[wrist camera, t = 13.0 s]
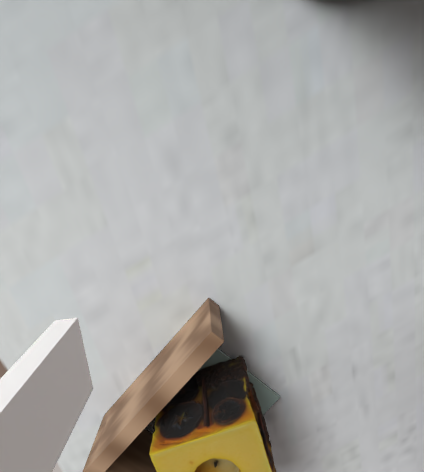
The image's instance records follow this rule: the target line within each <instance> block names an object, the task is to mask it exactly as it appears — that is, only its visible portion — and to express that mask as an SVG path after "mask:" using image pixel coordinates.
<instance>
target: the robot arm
mask: <svg viewBox="0 0 424 472" xmlns="http://www.w3.org/2000/svg"><path fill="white" fill-rule="evenodd" d="M92 390H93V385H92V381H91V376H90V372H89V367H88V363H87V358H86V354H85V349H84V345H83V340H82V335H81V331H80V326H79V322H78V318H71V319H62V320H55V321H54V322H53V323H52V324H51V325H50V326H49V328H48V329H47V330H46V331H45V332H44V333H43V334H42V335H41V336H40V337H39V338H38V339H37V340H36V341H35V342H34V344H33V345H32V346H31V347H30V348H29V349H28V350H27V351H26V352H25V353H24V354H23V355H22V356H21V357H20V358H19V360H18V361H17V362H16V363H15V364H14V365H13V366H12V367H11V368H10V369H9V370H8V371H7V372H6V373H5V375H4V376H3V377H2V378H1V379H0V472H52V471H53V469H54V467H55V465H56V463H57V461H58V459H59V457H60V455H61V453H62V451H63V449H64V447H65V445H66V443H67V441H68V439H69V437H70V435H71V433H72V431H73V428H74V426H75V424H76V422H77V420H78V418H79V416H80V414H81V412H82V410H83V408H84V406H85V404H86V402H87V400H88V398H89V396H90V394H91V392H92Z"/></svg>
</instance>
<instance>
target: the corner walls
mask: <svg viewBox="0 0 424 472" xmlns="http://www.w3.org/2000/svg"><path fill="white" fill-rule="evenodd" d="M223 342H224V336H223V329H222V323H221V316H220V310H219V305H217V304H216V303H215V302H213V301H212V300H211V299H210V298H208V299H207V300H206V301H205V302H204V304H203V305H202V306H201V307H200V308H199V309H198V310H197V311H196V313H195V314H194V315H193V316H192V317H191V318H190V319H189V320H188V322H187V323H186V324H185V325H184V326H183V327H182V328H181V329H180V331H179V332H178V333H177V334H176V335H175V336H174V337H173V338H172V340H171V341H170V342H169V343H168V344H167V345H166V346H165V347H164V349H163V350H162V351H161V352H160V353H159V354H158V355H157V356H156V358H155V359H154V360H153V361H152V362H151V363H150V364H149V365H148V367H147V368H146V369H145V370H144V371H143V372H142V373H141V374H140V376H139V377H138V378H137V379H136V380H135V381H134V382H133V383H132V385H131V386H130V387H129V388H128V389H127V390H126V391H125V392H124V394H123V395H122V396H121V397H120V398H119V399H118V400H117V401H116V403H115V404H114V405H113V406H112V407H111V408H110V409H109V410H108V412H107V413H106V414H105V415H104V417H103V420H102V422H101V425H100V428H99V430H98V433H97V436H96V438H95V441H94V443H93V446H92V449H91V451H90V454H89V457H88V459H87V462H86V465H85V467H84V470H83V472H157V471H156V469H155V467H154V465H153V463H152V460H151V457H150V455H149V453H150V447H151V443H152V439H153V434H151V433H150V432H148V431H147V430H145V427H146V426H147V425H148V424H149V423H150V422H151V421H152V420H153V419H154V418H155V417H156V415H157V414H158V413H159V412H160V411H161V410H162V409H163V408H164V407H165V406H166V405H167V403H168V402H169V401H170V400H171V399H172V398H173V397H174V396H175V395H176V394H177V393H178V391H179V390H180V389H181V388H182V387H183V386H184V385H185V384H186V383H187V382H188V381H189V379H190V378H191V377H192V376H193V375H194V374H195V373H196V372H197V371H198V370H199V369H200V367H201V366H202V365H203V364H204V363H205V362H206V361H207V360H208V359H209V358H210V357H211V355H212V354H213V353H214V352H215V351H216V350H217V349H218V348H219V347H220V346H221V345H222V343H223Z"/></svg>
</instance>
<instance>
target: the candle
mask: <svg viewBox="0 0 424 472" xmlns="http://www.w3.org/2000/svg"><path fill="white" fill-rule="evenodd" d="M154 426H155V432H154V433H153V439H152V443H151V447H150V453H149V455H150V457H151V460H152V463H153V465H154V467H155V469H156V471H157V472H276V469H275V466H274V461H273V456H272V452H271V443H270V441H269V435H268V432H267V428H266V423H265V420H264V417H263V414H262V411H261V406H260V404H259V400H258V398H257V396H256V392H255V388H254V387H253V383H251V382H249V377H248V374H247V367H246V364H245V360H244V359H243V357H242V356H239V357H237V358H236V359H230V360H228V361H226V362H220V363H217V364H215V365H213V366H209V367H205V368H203V369H201V370H199V371H197V372H196V373H195V374H194V375H193V376H192V377H191V378H190V379H189V381H188V382H187V383H186V384H185V385H184V386H183V387H182V388H181V389H180V390H179V391H178V393H177V394H176V395H175V396H174V397H173V398H172V399H171V400H170V401H169V402H168V403H167V405H166V406H165V407H164V408H163V409H162V410H161V411H160V412H159V413H158V414H157V415H156V421H155V425H154Z"/></svg>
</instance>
